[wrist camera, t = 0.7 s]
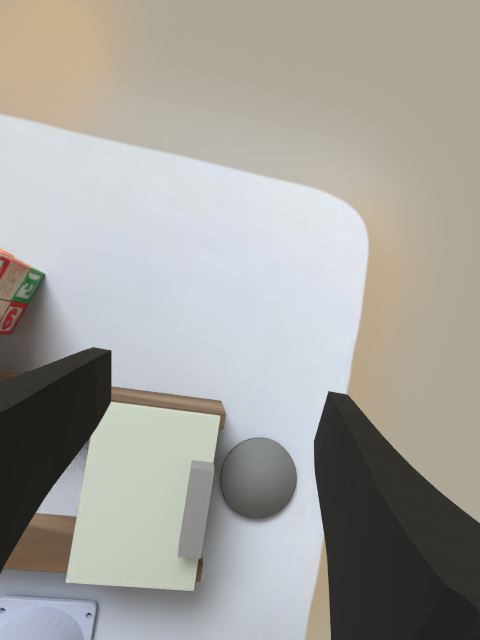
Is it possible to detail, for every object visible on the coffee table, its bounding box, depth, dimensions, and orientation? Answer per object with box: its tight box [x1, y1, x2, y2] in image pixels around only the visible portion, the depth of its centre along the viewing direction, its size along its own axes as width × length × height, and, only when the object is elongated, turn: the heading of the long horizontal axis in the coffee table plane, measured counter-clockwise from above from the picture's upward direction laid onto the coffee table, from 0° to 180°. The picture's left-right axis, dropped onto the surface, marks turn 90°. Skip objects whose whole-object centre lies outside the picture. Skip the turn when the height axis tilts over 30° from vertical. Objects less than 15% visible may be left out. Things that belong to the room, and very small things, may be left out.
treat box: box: [0, 372, 226, 582], centre depth 28 cm, size 13×22×5 cm, turn 81°
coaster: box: [221, 438, 297, 518], centre depth 32 cm, size 7×7×1 cm
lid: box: [65, 402, 220, 591], centre depth 25 cm, size 13×9×2 cm
